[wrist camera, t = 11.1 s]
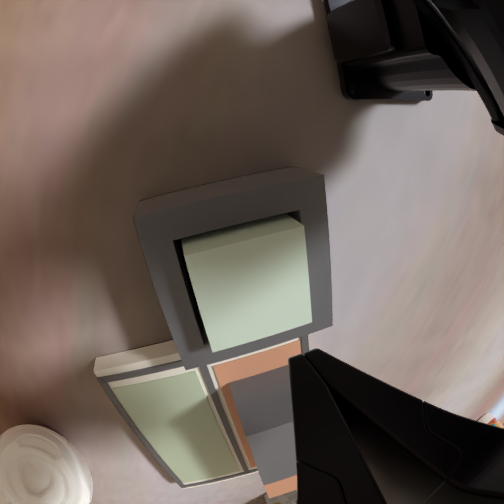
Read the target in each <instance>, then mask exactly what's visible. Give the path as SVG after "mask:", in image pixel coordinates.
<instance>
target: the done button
mask: <svg viewBox="0 0 504 504" xmlns="http://www.w3.org/2000/svg"><path fill="white" fill-rule="evenodd" d="M181 240H182V246H183V252H184V257H185V261H186V265H187V268H188V272H189V276H190V279H191V283H192V286H193V290H194V293H195V297H196V300H197V304H198V307H199V310H200V314H201V317H202V320H203V324H204V327H205V330H206V333H207V337H208V340H209V343H210V346H211V349H212V352H217V351H220V350H224V349H227V348H231V347H235V346H238V345H242V344H245V343H248V342H252V341H255V340H258V339H262V338H265V337H268V336H272V335H275V334H278V333H281V332H284V331H287V330H290V329H293V328H296V327H299V326H302V325H305V324H308V323H311V322H312V313H311V299H310V285H309V273H308V262H307V251H306V240H305V230H304V225H302V224H301V223H299V222H298V221H296V220H295V219H293V218H292V217H290V216H289V215H288V214H286V213H283V214H279V215H275V216H271V217H266V218H262V219H258V220H254V221H250V222H245V223H241V224H237V225H233V226H229V227H225V228H221V229H217V230H213V231H209V232H205V233H201V234H197V235H193V236H189V237H185V238H181Z"/></svg>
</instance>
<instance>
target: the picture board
mask: <svg viewBox="0 0 504 504" xmlns="http://www.w3.org/2000/svg"><path fill="white" fill-rule="evenodd" d="M307 351H309V343H308V335H305V336H302V337H299V338H296V339H293V340H290V341H287V342H284V343H281V344H277V345H274V346H271V347H268V348H265V349H261V350H258V351H255V352H252V353H248V354H245V355H241V356H238V357H234V358H231V359H227V360H224V361H220V362H216V363H213V364H209V365H205V366H201V367H197V368H193V369H189V370H185V368H184V365H183V363H182V360H181V358H180V355H179V353H178V350H177V348H176V345H175V343H174V340H171V341H167V342H163V343H159V344H155V345H150V346H146V347H142V348H137V349H133V350H128V351H124V352H119V353H115V354H110V355H105V356H100V357H96V360H95V365H94V370H93V371H94V373H95V375H96V376H97V380H98V381H99V383H100V385H101V386H102V388H103V389H104V391H105V392H106V394H107V395H108V397H109V398H110V400H111V401H112V403H113V404H114V406H115V407H116V408H117V410H118V411H119V413H120V414H121V416H122V417H123V418H124V420H125V421H126V422H127V424H128V425H129V426H130V428H131V429H132V430H133V432H134V433H135V434H136V436H137V437H138V438H139V440H140V441H141V442H142V443H143V445H144V446H145V447H146V448H147V450H148V451H149V452H150V453H151V454H152V456H153V457H154V458H155V459H156V460H157V461H158V463H159V464H160V465H161V466H162V467H163V468H164V470H165V471H166V472H167V473H168V474H169V475H170V476H171V477H172V478H173V479H174V481H175V482H176V483H177V484H178V485H179V486H180V487H181V488H183V489H187V488H193V487H198V486H203V485H208V484H213V483H217V482H222V481H226V480H230V479H234V478H238V477H242V476H246V475H249V474H253V473H256V472H259V471H258V469H257V466H256V463H255V461H254V458H253V455H252V452H251V450H250V447H249V444H248V441H247V439H246V436H245V433H244V430H243V427H242V424H241V421H240V418H239V415H238V412H237V409H236V406H235V403H234V399H233V396H232V393H231V390H230V387H229V384H228V383H229V382H233V381H236V380H240V379H243V378H247V377H250V376H254V375H257V374H260V373H263V372H267V371H270V370H273V369H276V368H279V367H282V366H285V365H288V359H289V358H290V357H292V356H295V355H298V354H304V353H305V352H307Z"/></svg>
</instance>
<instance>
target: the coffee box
mask: <svg viewBox="0 0 504 504" xmlns="http://www.w3.org/2000/svg"><path fill="white" fill-rule="evenodd" d="M264 497H265V500H266V503H267V504H297V490H294V491H291V492H288V493H285V494H282V495H279V496H276V497H272V498H269V497H268V495H267V493H266V494H265V495H264Z"/></svg>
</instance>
